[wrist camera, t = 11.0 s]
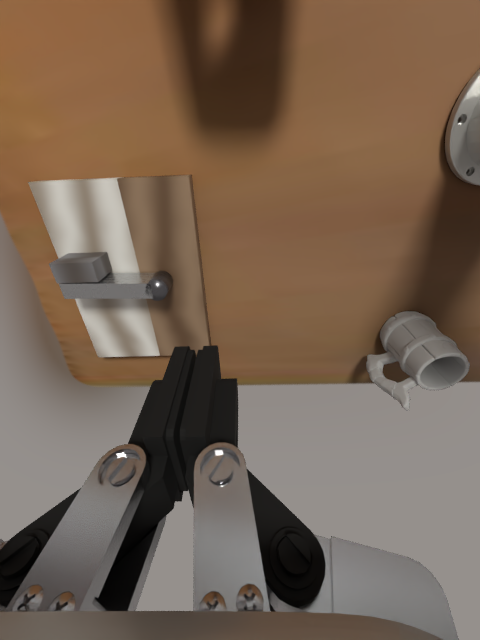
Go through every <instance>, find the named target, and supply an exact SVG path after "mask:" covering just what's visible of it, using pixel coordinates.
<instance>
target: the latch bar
mask: <svg viewBox="0 0 480 640" xmlns="http://www.w3.org/2000/svg"><path fill="white" fill-rule="evenodd" d="M172 284H173V278H172V276H171V275H170V274H169V273H168V272H166V271H158V272H156V273H108V274H107V275H106V276H105V277H104V278H103V279H102V280H100V281H99V282H85V283H59V285H60V288H61V291H62V293H63V296H64V298H65V299H152V300H155V301H160V300H163V299H164V298H165V297H166V295H167V293H168V291H169V290H170V288H171V286H172Z"/></svg>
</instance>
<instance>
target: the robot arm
mask: <svg viewBox="0 0 480 640" xmlns="http://www.w3.org/2000/svg"><path fill="white" fill-rule="evenodd" d="M445 153H446V158H447V162H448V164H449V166H450V169H451V170H452V172H453V173H454V174H455V175H456V176H457V177H458V178H459V179H461V180H462V181H464V182H466V183H469V184H473V185H480V68H479V70H478V71H477V72H476V73H475V74H474V76H473V77H472V78H471V79H470V80H469V82H468V83H467V85H466V86H465V88H464V89H463V91H462V92H461V94H460V96H459V98H458V100H457V102H456V104H455V106H454V108H453V110H452V113H451V116H450V119H449V122H448V125H447V130H446V136H445ZM188 489H189V493H190V497H191V501H192V504H193V508H194V593H193V594H194V595H193V599H194V600H193V602H194V604H193V611H135V610H136V607H137V604H138V601H139V598H140V596H141V593H142V590H143V587H144V584H145V581H146V577H147V575H148V572H149V569H150V566H151V563H152V560H153V557H154V554H155V551H156V548H157V545H158V542H159V539H160V536H161V533H162V530H163V527H164V524H165V520H166V515H167V514H168V513H169V512H170V511H171V510H172V509H173V508H174V503H175V501H182V495H183V491H188ZM270 611H271V612H270ZM0 640H459V639H458V636H457V632H456V629H455V625H454V622H453V618H452V615H451V611H450V608H449V604H448V601H447V598H446V596H445V594H444V592H443V589H442V587H441V585H440V584H439V582H438V581H437V580H436V578H435V577H434V576H433V574H432V573H431V572H430V571H429V570H428V569H427V568H426V567H424V566H423V565H422V564H421V563H420V562H417V561H415V560H413V559H411V558H409V557H405V556H402V555H398V554H395V553H391V552H387V551H384V550H380V549H376V548H372V547H369V546H365V545H362V544H358V543H354V542H351V541H347V540H343V539H339V538H336V537H332V536H331V539H328V538H325V537H321V536H317V535H314V534H313V533H312V532H311V531H310V529H308V528H307V527H306V526H305V525H304V524H303V523H302V522H301V521H300V520H299V519H298V518H297V517H296V516H295V515H294V514H293V513H292V512H291V511H290V510H289V509H288V508H287V507H286V506H285V505H284V504H283V503H282V502H281V501H280V500H278V499H277V498H276V497H275V496H274V495H273V494H272V493H271V492H270V491H269V490H268V489H267V488H266V487H265V486H264V485H263V484H262V483H261V482H260V481H259V480H258V479H257V478H256V477H255V476H254V475H252V473H251V472H250V471H249V470H248V469H247V468H246V462H245V459H244V456H243V454H242V453H241V451H240V450H239V449H238V388H237V379H221V372H220V362H219V352H218V346H203V350H198V352H197V357H196V353H195V350H190V347H189V346H179V347H174V350H173V352H172V355H171V358H170V361H169V364H168V366H167V369H166V372H165V375H164V378H163V380H155V381H154V382H153V383H152V385H151V387H150V390H149V393H148V395H147V398H146V400H145V403H144V405H143V407H142V410H141V413H140V415H139V418H138V420H137V423H136V425H135V428H134V430H133V433H132V435H131V438H130V440H129V443H128V444H124V445H120V446H117V447H115V448H113V449H111V450H110V451H108V452H107V453H106V454H105V455H104V456H102V457H101V459H100V460H99V461H98V463H97V464H96V465H95V467H94V469H93V470H92V472H91V473H90V475H89V477H88V478H87V480H86V481H85V483H84V485H83V486H82V488H80V489H79V490H77V491H76V492H75V493H74V494H72V495H70V496H69V497H68V498H66V499H65V500H63V501H62V502H61V503H59V504H58V505H56V506H55V507H54V508H52V509H51V510H49V511H48V512H47V513H45V514H44V515H42V516H41V517H40V518H38V519H37V520H35V521H34V522H33V523H31V524H30V525H28V526H27V527H26V528H24V529H23V530H21V531H20V532H19V533H17V534H16V535H15V536H14V537H12V538H11V539H10V540H9V541H5V542H4V541H3V540H2V539H0Z"/></svg>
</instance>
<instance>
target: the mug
mask: <svg viewBox="0 0 480 640" xmlns="http://www.w3.org/2000/svg"><path fill="white" fill-rule="evenodd" d="M394 316H395V317H391V318H389V319H388V320H387V321H386V323H385V324H384V325H383V327H382V329H381V331H380V339H381V341H382V345H383V348H384V349H385V350H386V351H387V353H384V354H381V355H371V354H369V355H367V362H366V368H367V372H368V373H369V376H370V379H371V381H373V382H374V383H375V384H376V385H377V386H379V387H380V388H381V389H383V390H384V391H385V392H387V393H388V394H389V395H391V396H392V397H393V398H395V399H397V400H398V401H399V402H400V404H401V405H402V407H403V408H404V409H405V410H409V408H410V406H409V401H410V397H409V392H408V390H409V389H411V388H413V387H415V386H417V385H419V386H420V387H422V388H424V389H426V390H441V389H445V388H448V387H450V386H452V385H454V384H456V383H457V382H459V381H460V380H462V379H463V378H464V377H465V376H466V375H467V373H468V371H469V365H470V364H469V362H468V361H467V360H468V359H467V357H466V356H465V355H464V354H463V353H462V352H461V351H460V350H459V349H458V348H457V346H456V345H457V344H456V343H455V342H454V341H453V340H451V339H450V338H449V337H447V336H445V335H443V334H442V333H441V332H440V331H439V330H438V329H437V328H436V324H435V322H433V320H432V319H430V318H429V317H428V316H426V315H423V314H421V313H419V312H416V311H405V312H400V313H398V314H396V315H394ZM396 361H398V362H399V363H400V367H401V369H402V370H403V371H404V372H405V373H407V374H408V375H410V377H409V378H407V379H405V380H404V381H402V382H399V383H397V382H395V381H392V380H389V379H386V378H385V376H384V375H383V373H382V372H383V366H384V364H389V363H393V362H396Z"/></svg>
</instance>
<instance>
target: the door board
mask: <svg viewBox="0 0 480 640" xmlns="http://www.w3.org/2000/svg"><path fill="white" fill-rule="evenodd" d="M28 183H29V186H30V188H31V191H32V193H33V196H34V198H35V201H36V203H37V206H38V208H39V211H40V213H41V216H42V218H43V221H44V223H45V226H46V228H47V231H48V233H49V236H50V238H51V241H52V243H53V246H54V248H55V251H56V253H57V255H58V258H59V259H57V260H55V261H53V262H52V263H50V264H49V265H50V268H51V270H52V273H53V275H54V277H55V280H56V282H57V283H85V282H99V281H100V280H102V279H103V278H104V277H105V276H106V275H107V274H108V273H156V272H158V271H166V272H168V273H169V274H170V275H171V276H172V278H173V284H172V286H171V288H170V290H169V291H168V293H167V295H166V297H165V298H164V299H163V300H160V301H155V300H152V299H75V300H76V303H77V305H78V308H79V310H80V313H81V315H82V318H83V320H84V323H85V325H86V328H87V330H88V333H89V335H90V338H91V340H92V343H93V345H94V348H95V350H96V353H97V355H98V357H129V356H170V355H172V352H173V350H174V347H179V346H189V347H190V350H195V353H196V355H197V352H198V350H203V346H211V339H210V330H209V322H208V313H207V304H206V296H205V287H204V278H203V269H202V261H201V252H200V243H199V235H198V226H197V217H196V208H195V200H194V191H193V182H192V175H173V176H148V177H124V178H99V179H75V180H50V181H35V182H28Z"/></svg>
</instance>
